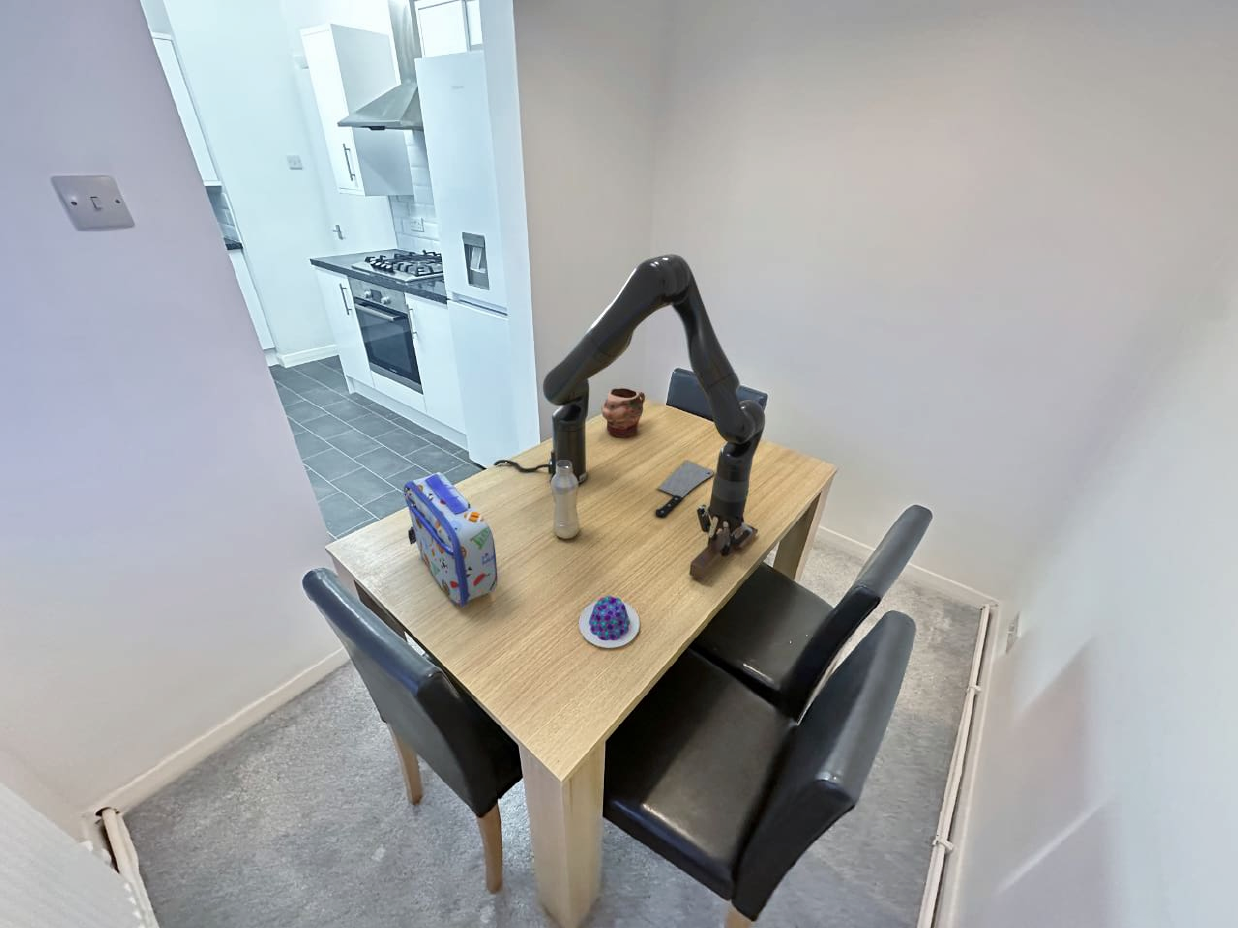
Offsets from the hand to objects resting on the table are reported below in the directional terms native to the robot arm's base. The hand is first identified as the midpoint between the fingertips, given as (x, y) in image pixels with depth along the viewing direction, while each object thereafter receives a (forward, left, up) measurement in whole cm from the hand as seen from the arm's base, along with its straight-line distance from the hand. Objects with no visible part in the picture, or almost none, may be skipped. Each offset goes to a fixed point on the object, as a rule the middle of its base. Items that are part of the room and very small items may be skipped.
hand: (719, 551), depth 114 cm
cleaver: (-11, +27, -2) cm, 29 cm away
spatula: (+1, +1, -1) cm, 2 cm away
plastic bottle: (-37, +2, -2) cm, 37 cm away
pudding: (-22, -24, -2) cm, 33 cm away
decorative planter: (-31, +60, -2) cm, 68 cm away
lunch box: (-58, -15, -2) cm, 60 cm away
